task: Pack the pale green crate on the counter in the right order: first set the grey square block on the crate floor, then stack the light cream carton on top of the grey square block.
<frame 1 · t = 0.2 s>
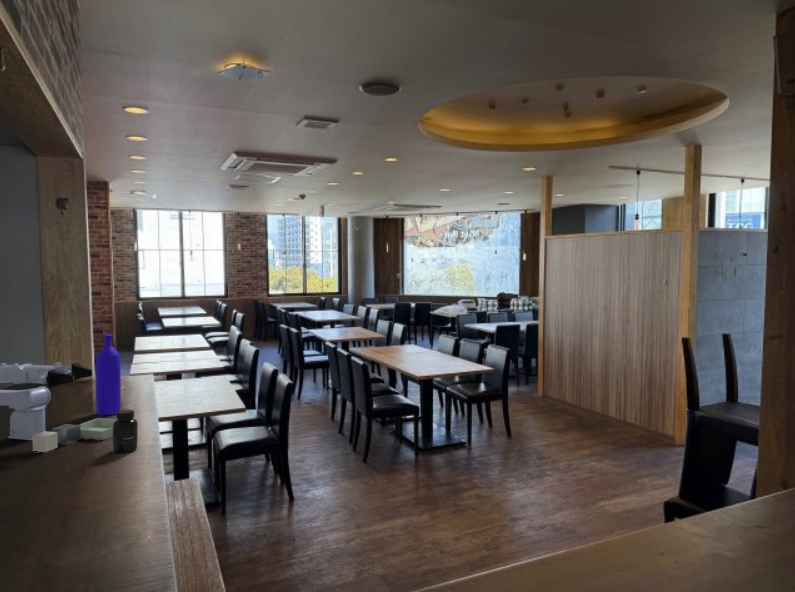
hand: (82, 375, 175), 21 cm above the counter, tool horizontal, fingers open, 7 cm apart
supplement bottle: (125, 450, 168), on the counter
crate: (100, 433, 184), on the counter
carton: (45, 450, 167), on the counter
bottle: (108, 413, 209), on the counter
grey square block: (66, 442, 175), on the counter
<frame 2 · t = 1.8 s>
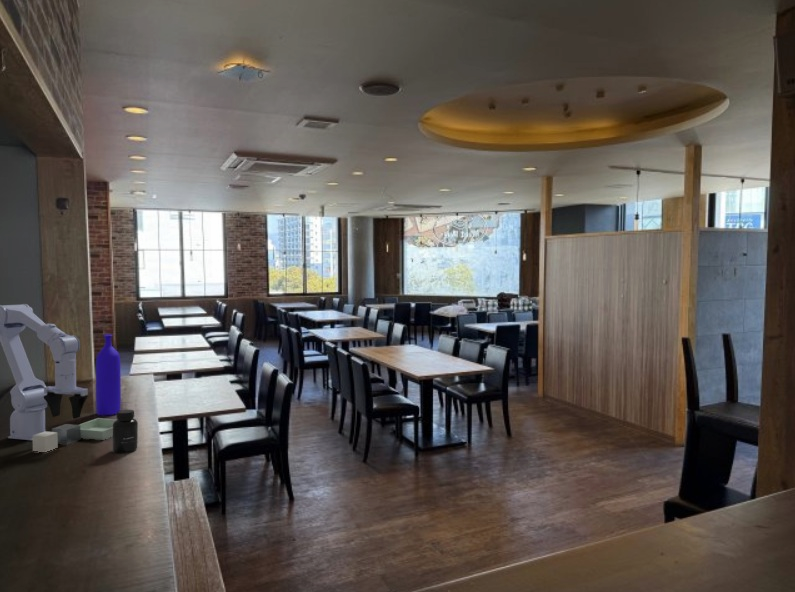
hand: (66, 416, 174), 8 cm above the counter, tool pointing down, fingers open, 7 cm apart
nothing on the counter moved.
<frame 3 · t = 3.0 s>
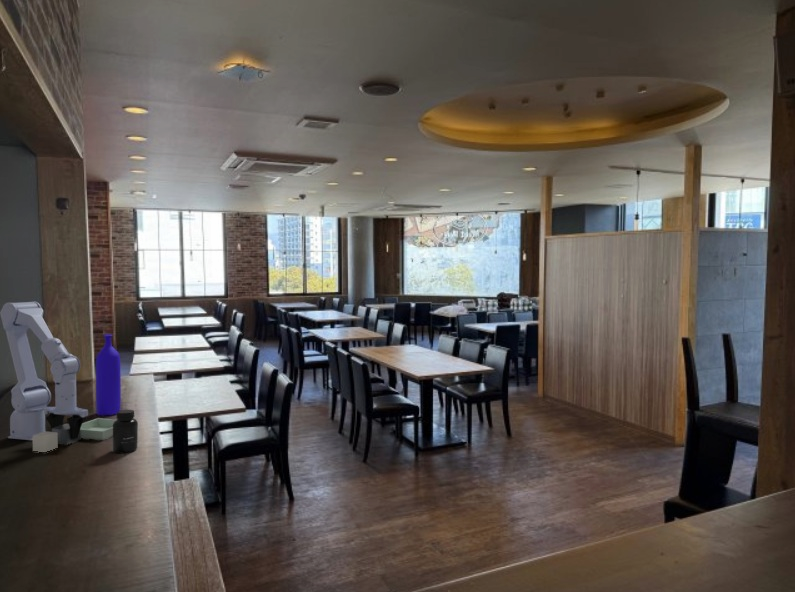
hand: (66, 437, 175), 1 cm above the counter, tool pointing down, fingers closed on grey square block, 5 cm apart
grey square block: (66, 442, 175), on the counter, touching gripper
everything else where it was.
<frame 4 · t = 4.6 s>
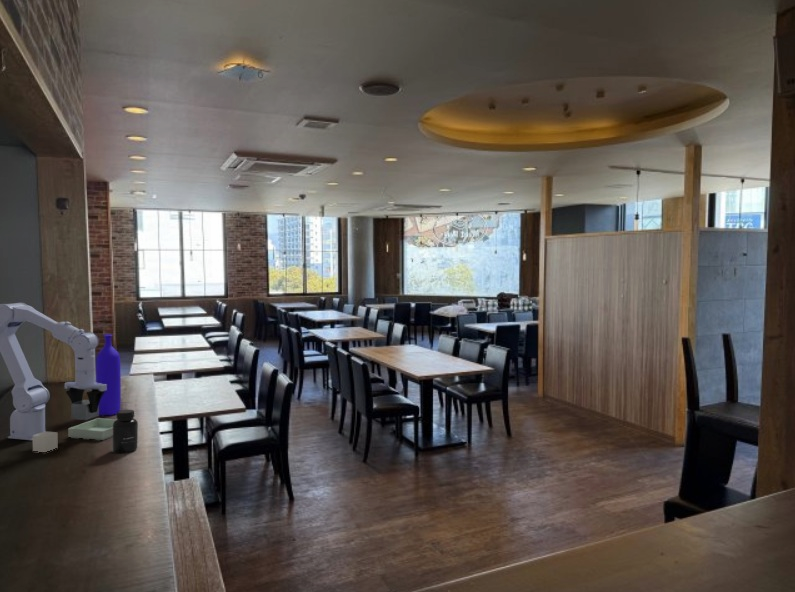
hand: (85, 411, 180), 8 cm above the counter, tool pointing down, fingers closed on grey square block, 5 cm apart
grey square block: (85, 417, 179), point 7 cm above the counter, touching gripper
everything else where it was.
when the fingers open (3 cm above the counter, at t = 6.5 s): grey square block stays where it is, resting on crate.
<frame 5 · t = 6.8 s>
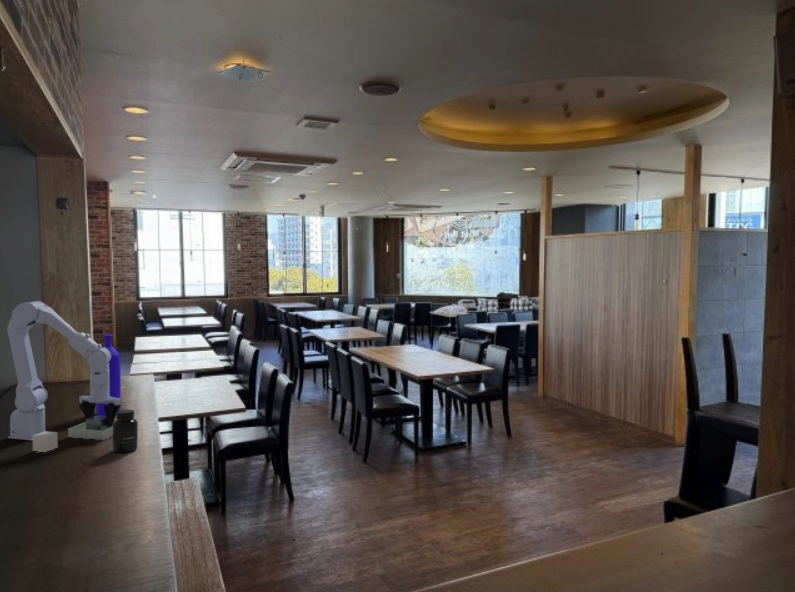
hand: (100, 424, 184), 3 cm above the counter, tool pointing down, fingers open, 7 cm apart
grey square block: (99, 432, 184), resting on crate
everything else where it was.
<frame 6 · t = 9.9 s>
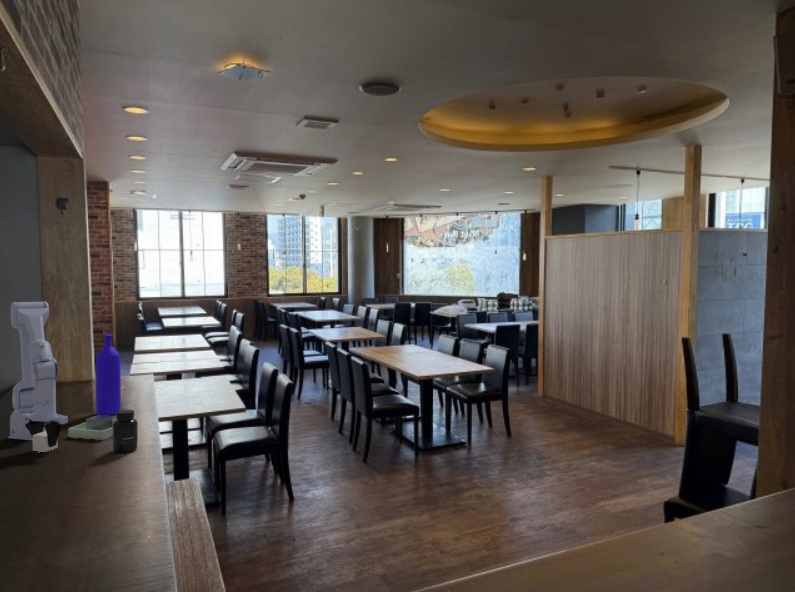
hand: (45, 445, 167), 1 cm above the counter, tool pointing down, fingers closed on carton, 4 cm apart
carton: (45, 450, 167), on the counter, touching gripper
everything else where it was.
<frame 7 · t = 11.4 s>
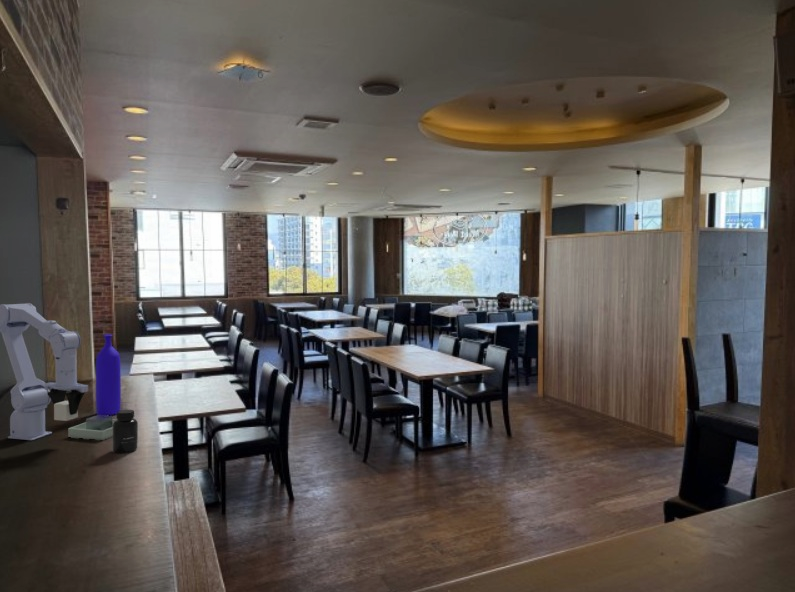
hand: (66, 413, 173), 10 cm above the counter, tool pointing down, fingers closed on carton, 4 cm apart
carton: (66, 418, 173), point 8 cm above the counter, touching gripper
everything else where it was.
when the fingers open (8 cm above the counter, at t = 13.0 s): carton stays where it is, resting on grey square block.
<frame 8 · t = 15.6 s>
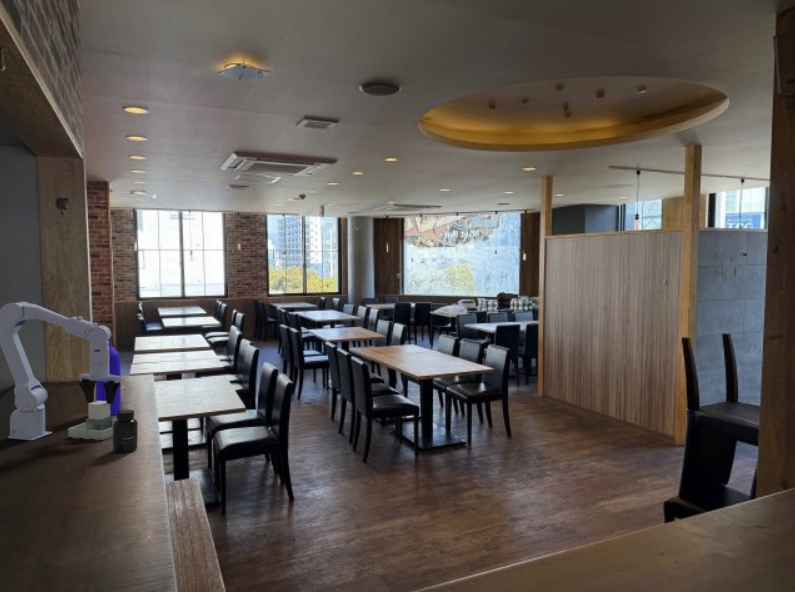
hand: (100, 402, 184), 10 cm above the counter, tool pointing down, fingers open, 7 cm apart
carton: (99, 417, 184), point 5 cm above the counter, touching grey square block
grey square block: (99, 432, 184), resting on crate, touching carton
everything else where it was.
at the end: grey square block inside the target area on the crate (0.4 cm from its centre), point 0.5 cm above the crate's base; carton 0.1 cm off-centre on the grey square block, point 5.0 cm above the grey square block's base; carton tilted 0° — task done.
